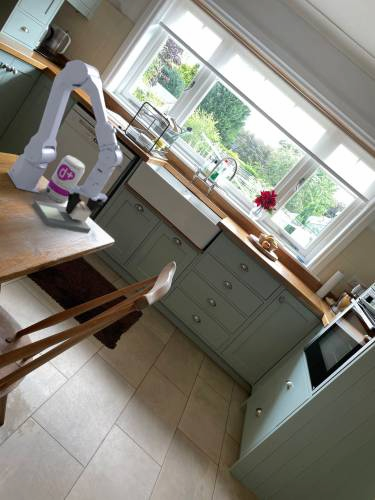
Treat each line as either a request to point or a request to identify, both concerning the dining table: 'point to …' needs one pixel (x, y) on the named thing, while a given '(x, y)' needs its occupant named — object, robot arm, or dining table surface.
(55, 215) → the board
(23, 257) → the dining table surface
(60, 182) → the supplement can
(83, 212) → the white cube with stripe
